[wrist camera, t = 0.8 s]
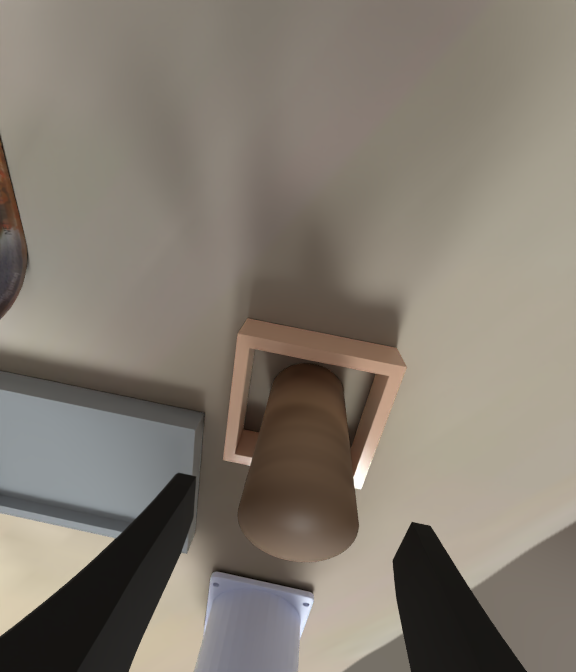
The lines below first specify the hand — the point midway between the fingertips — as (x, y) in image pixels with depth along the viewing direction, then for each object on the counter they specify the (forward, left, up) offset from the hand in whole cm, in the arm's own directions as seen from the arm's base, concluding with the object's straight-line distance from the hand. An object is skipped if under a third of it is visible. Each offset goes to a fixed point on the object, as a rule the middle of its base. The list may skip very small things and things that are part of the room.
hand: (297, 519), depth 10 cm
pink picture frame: (0, 0, -7) cm, 7 cm away
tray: (-8, +13, -7) cm, 17 cm away
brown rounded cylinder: (0, 0, -7) cm, 7 cm away
